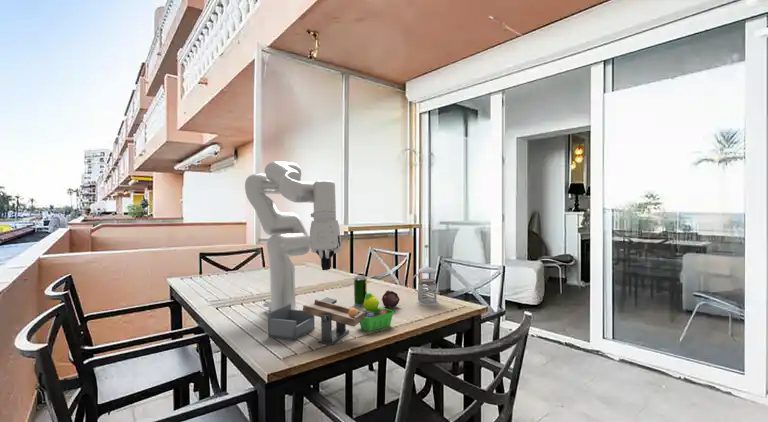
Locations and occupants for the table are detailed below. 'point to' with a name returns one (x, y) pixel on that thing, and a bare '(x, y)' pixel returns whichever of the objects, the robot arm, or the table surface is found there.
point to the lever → (333, 311)
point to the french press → (423, 298)
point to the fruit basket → (375, 314)
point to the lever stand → (328, 334)
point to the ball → (352, 312)
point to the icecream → (390, 299)
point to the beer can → (360, 290)
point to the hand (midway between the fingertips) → (326, 269)
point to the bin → (289, 323)
